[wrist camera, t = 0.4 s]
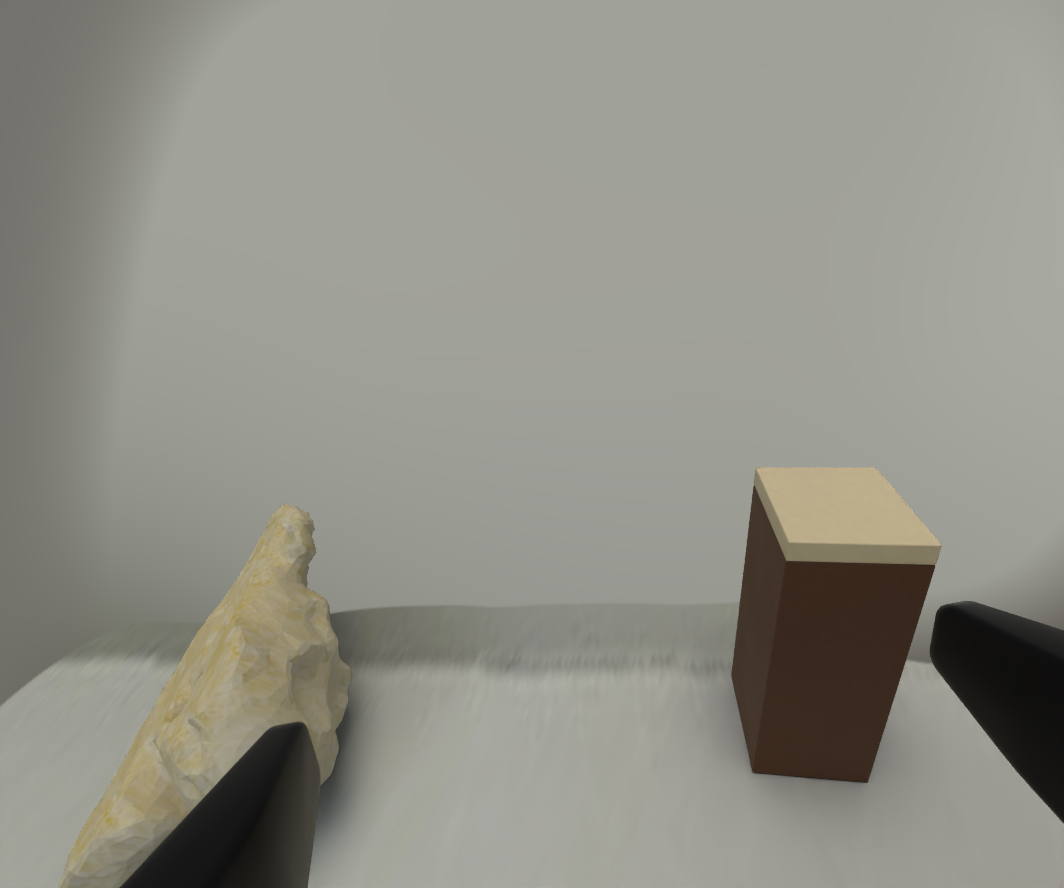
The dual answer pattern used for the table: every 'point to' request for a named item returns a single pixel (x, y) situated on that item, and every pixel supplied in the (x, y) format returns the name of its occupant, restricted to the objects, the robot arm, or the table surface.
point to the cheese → (223, 704)
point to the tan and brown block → (826, 617)
